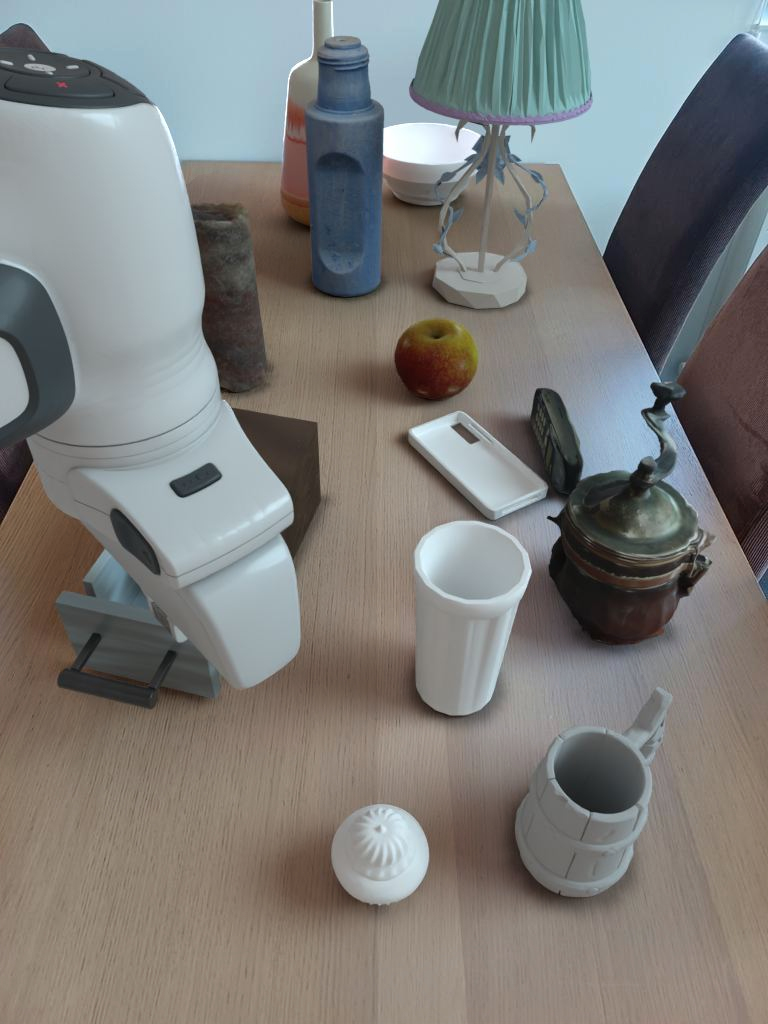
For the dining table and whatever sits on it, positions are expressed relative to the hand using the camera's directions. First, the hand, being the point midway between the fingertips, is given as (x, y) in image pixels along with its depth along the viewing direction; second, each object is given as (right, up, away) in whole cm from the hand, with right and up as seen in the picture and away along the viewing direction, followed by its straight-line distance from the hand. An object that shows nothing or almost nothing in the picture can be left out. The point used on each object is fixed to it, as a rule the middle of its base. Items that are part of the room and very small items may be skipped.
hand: (177, 622), depth 47 cm
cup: (+18, -7, +16) cm, 25 cm away
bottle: (+7, +39, +65) cm, 76 cm away
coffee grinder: (+32, -1, +24) cm, 40 cm away
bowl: (+19, +60, +88) cm, 109 cm away
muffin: (+12, -17, +5) cm, 22 cm away
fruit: (+18, +21, +46) cm, 54 cm away
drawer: (-5, -3, +18) cm, 19 cm away
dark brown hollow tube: (-5, +23, +47) cm, 53 cm away
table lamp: (+25, +38, +65) cm, 79 cm away
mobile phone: (+30, +12, +37) cm, 49 cm away
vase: (+3, +53, +81) cm, 97 cm away
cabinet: (-2, +4, +27) cm, 27 cm away
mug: (+26, -15, +8) cm, 31 cm away
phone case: (+22, +11, +36) cm, 43 cm away
